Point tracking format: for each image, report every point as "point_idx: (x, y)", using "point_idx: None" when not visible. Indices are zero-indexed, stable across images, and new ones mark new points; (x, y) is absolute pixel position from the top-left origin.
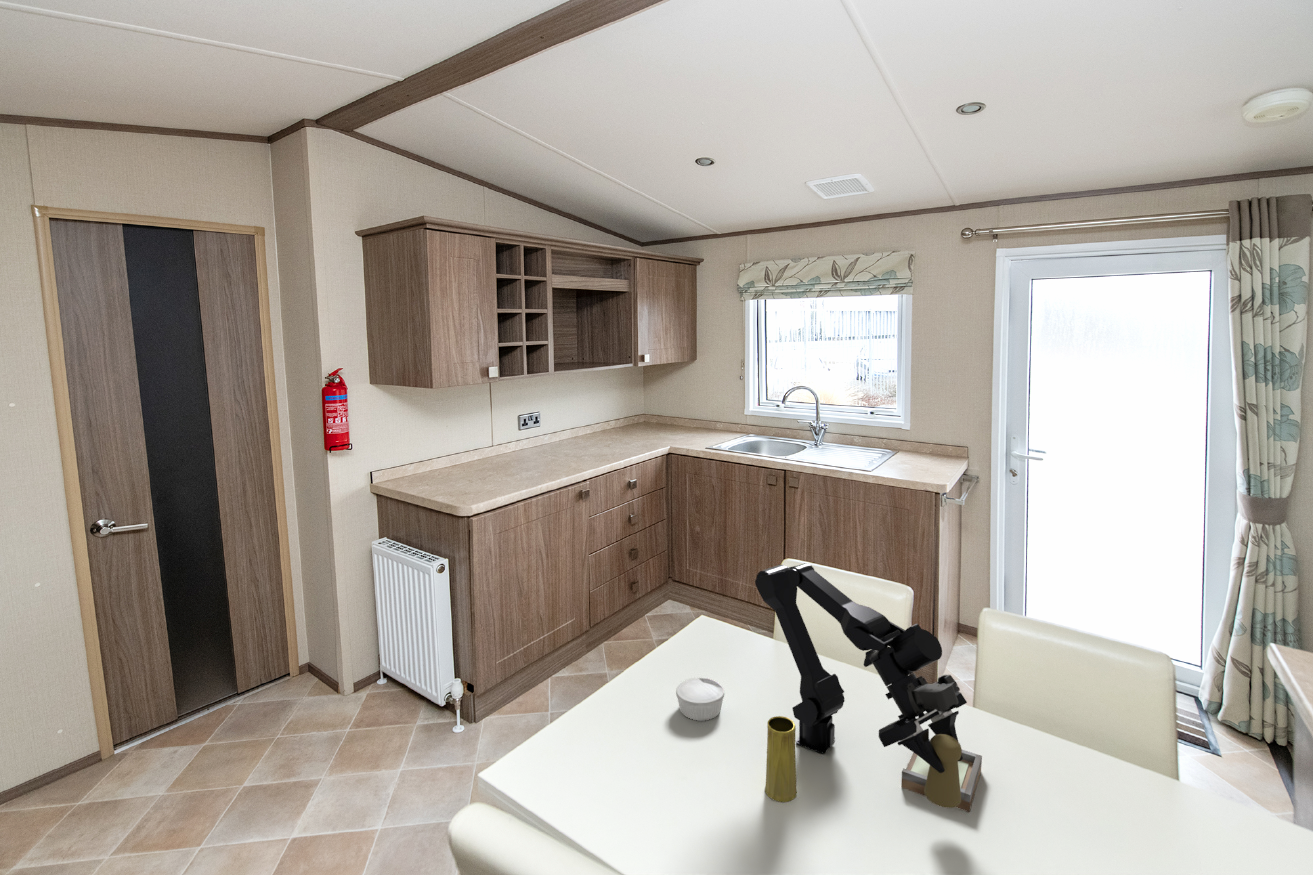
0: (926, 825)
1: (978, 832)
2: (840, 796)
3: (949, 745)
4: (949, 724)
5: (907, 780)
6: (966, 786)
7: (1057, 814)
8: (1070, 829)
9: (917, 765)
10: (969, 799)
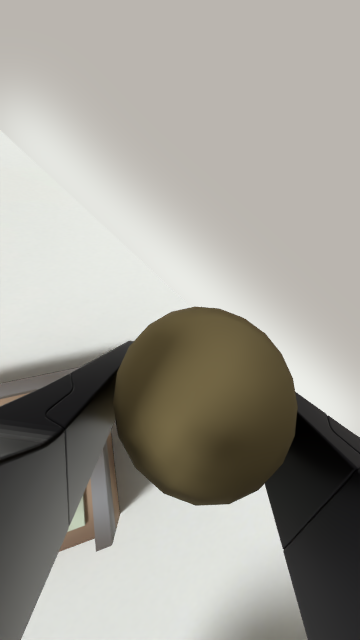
0: None
1: None
2: (250, 614)
3: (254, 344)
4: (34, 449)
5: (113, 511)
6: None
7: (18, 267)
8: (46, 249)
9: None
10: None
